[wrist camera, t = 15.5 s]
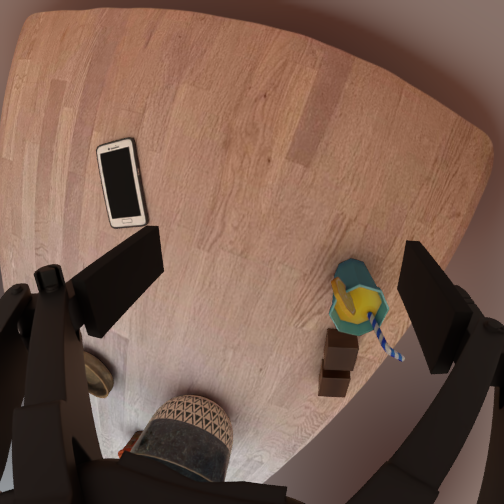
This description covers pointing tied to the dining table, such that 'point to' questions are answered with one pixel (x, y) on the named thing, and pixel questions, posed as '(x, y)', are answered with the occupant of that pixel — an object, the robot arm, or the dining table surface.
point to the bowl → (97, 376)
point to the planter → (189, 438)
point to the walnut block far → (333, 382)
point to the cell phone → (122, 184)
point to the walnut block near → (340, 350)
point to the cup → (359, 303)
